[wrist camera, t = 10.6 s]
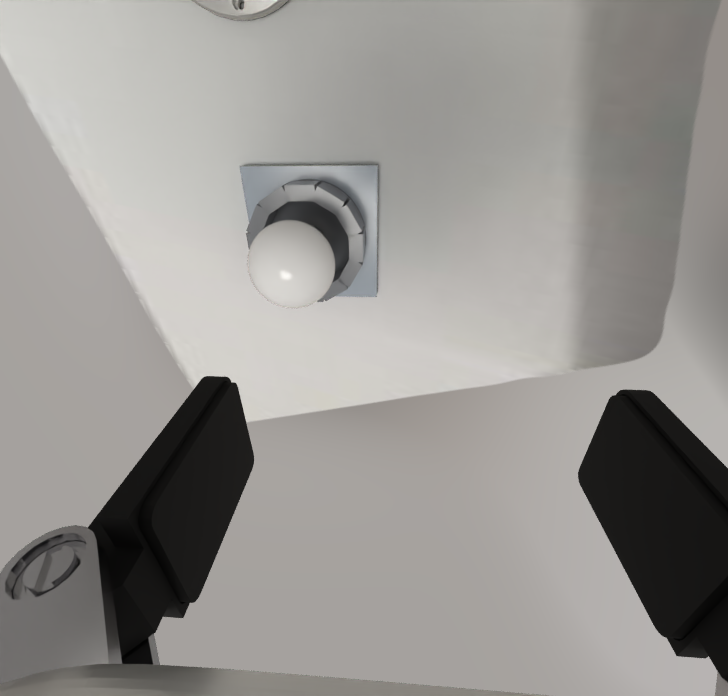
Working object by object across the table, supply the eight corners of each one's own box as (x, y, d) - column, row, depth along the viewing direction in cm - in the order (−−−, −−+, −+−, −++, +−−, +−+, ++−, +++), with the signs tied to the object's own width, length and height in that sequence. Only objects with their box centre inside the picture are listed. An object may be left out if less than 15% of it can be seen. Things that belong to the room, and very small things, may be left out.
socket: (243, 165, 33) (222, 170, 28) (377, 164, 32) (375, 169, 28) (264, 291, 39) (248, 310, 35) (376, 293, 38) (375, 313, 34)
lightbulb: (283, 272, 36) (245, 323, 26) (272, 202, 32) (223, 233, 23) (348, 270, 35) (333, 322, 26) (343, 199, 32) (323, 230, 22)
